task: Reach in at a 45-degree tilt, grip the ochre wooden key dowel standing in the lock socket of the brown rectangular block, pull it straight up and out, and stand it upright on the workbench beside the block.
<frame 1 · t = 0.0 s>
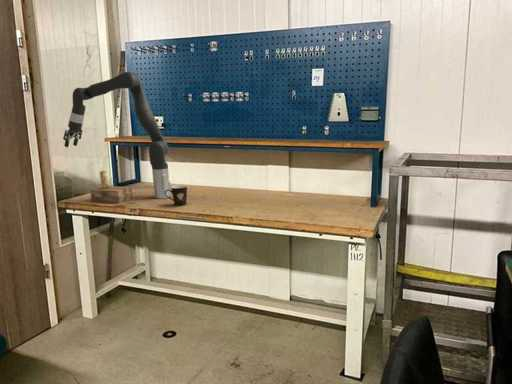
hand: (70, 146, 251), 31 cm above the table, tool tilted 20°, fingers open, 8 cm apart
rubber mallet: (163, 187, 277), on the table
coffee mug: (177, 204, 226), on the table
brown rectangular block: (112, 200, 243), on the table
wooden key: (105, 194, 244), point 3 cm above the table, touching brown rectangular block
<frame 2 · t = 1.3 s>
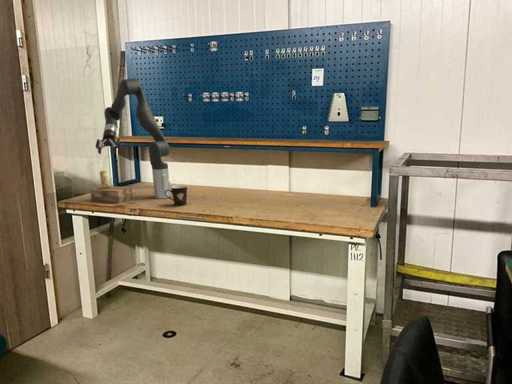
hand: (106, 153, 251), 27 cm above the table, tool tilted 45°, fingers open, 8 cm apart
nothing on the table moved.
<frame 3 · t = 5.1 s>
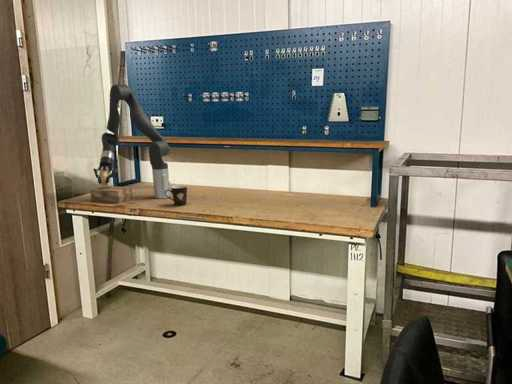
hand: (103, 182, 241), 11 cm above the table, tool tilted 45°, fingers closed on wooden key, 3 cm apart
wooden key: (105, 194, 244), point 3 cm above the table, touching gripper, brown rectangular block
everything else where it was.
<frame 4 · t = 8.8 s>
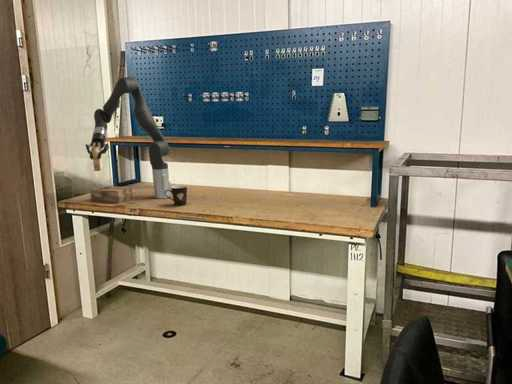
hand: (95, 158, 242), 25 cm above the table, tool tilted 45°, fingers closed on wooden key, 3 cm apart
wooden key: (97, 170, 246), point 17 cm above the table, touching gripper
everything else where it was.
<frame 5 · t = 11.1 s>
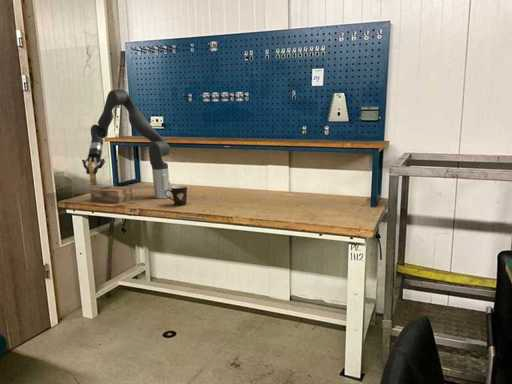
hand: (91, 173, 249), 15 cm above the table, tool tilted 45°, fingers closed on wooden key, 3 cm apart
wooden key: (93, 184, 252), point 8 cm above the table, touching gripper
everything else where it was.
when the fingers open (8 cm above the table, at t = 12.7 s): wooden key stays where it is, on the table.
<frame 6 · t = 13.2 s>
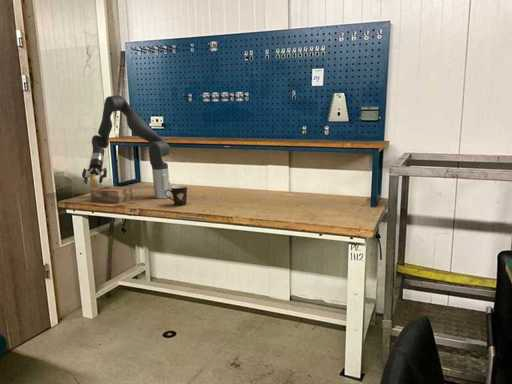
hand: (92, 182, 250), 9 cm above the table, tool tilted 45°, fingers open, 8 cm apart
wooden key: (95, 197, 254), on the table
everything else where it was.
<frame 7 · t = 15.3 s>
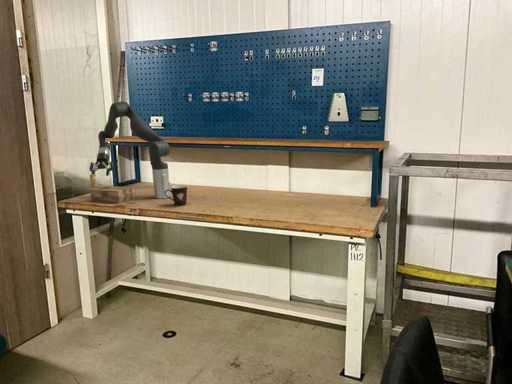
hand: (100, 175, 262), 12 cm above the table, tool tilted 45°, fingers open, 8 cm apart
nothing on the table moved.
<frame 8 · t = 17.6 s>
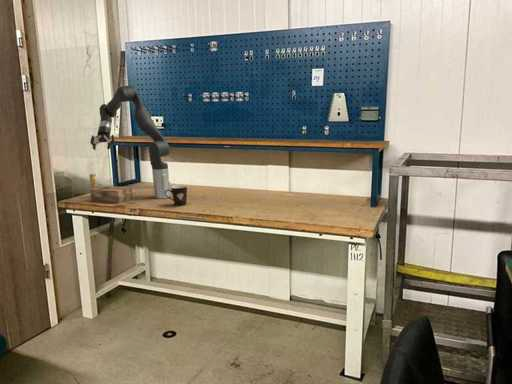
hand: (101, 149, 256), 29 cm above the table, tool tilted 45°, fingers open, 8 cm apart
nothing on the table moved.
at the end: wooden key inside the target area (0.1 cm from its centre), on the table; wooden key tilted 1°; the gripper is holding nothing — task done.
